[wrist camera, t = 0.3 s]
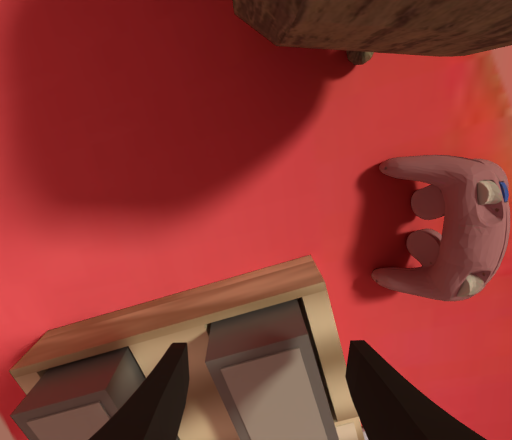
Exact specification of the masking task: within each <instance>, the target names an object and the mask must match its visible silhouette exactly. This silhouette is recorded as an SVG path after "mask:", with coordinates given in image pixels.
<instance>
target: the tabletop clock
mask: <svg viewBox="0 0 512 440" xmlns="http://www.w3.org/2000/svg"><path fill="white" fill-rule="evenodd" d="M233 8H234V13H235V15H237V16H238V17H239V18H241V19H242V20H243V21H245V22H246V23H247V24H248V25H250V26H251V27H252V28H254V29H255V30H256V31H258V32H259V33H260V34H262V35H263V36H264V37H266V38H267V39H268V40H270V41H271V42H272V43H273V44H275V45H276V46H287V47H302V48H317V49H333V50H346V52H347V58H348V60H349V61H350V62H352V63H353V64H354V65H362V64H364V63H366V62H367V61H368V60H370V59H371V57H372V55H373V53H374V52H378V53H394V54H409V55H424V56H465V55H470V54H474V53H479V52H483V51H487V50H492V49H496V48H500V47H505V46H509V45H512V0H233Z"/></svg>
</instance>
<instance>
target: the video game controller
mask: <svg viewBox="0 0 512 440" xmlns="http://www.w3.org/2000/svg"><path fill="white" fill-rule="evenodd" d="M379 170H380V171H381V172H382V173H384V174H385V175H388V176H391V177H394V178H398V179H406V180H414V181H421V182H425V183H429V184H431V185H429V186H427V187H425V188H422V189H419V190H417V191H416V192H415V193H414V194H413V195H412V198H411V206H412V210H413V212H414V213H415V214H416V215H417V216H418V217H420V218H422V219H425V220H431V219H436V218H439V217H442V216H444V224H443V231H442V235H441V234H440V233H438V232H437V231H434V230H432V229H421V230H417V231H415V232H412V233H411V234H410V235H409V236H408V238H407V249H408V251H409V253H410V254H411V255H412V256H413V257H414V258H416V259H417V260H418V261H419V262H420V263H421V264H422V267H418V268H396V267H389V268H379V269H375V270H374V271H373V272H372V275H371V276H372V278H373V280H374V281H375V282H376V283H378V284H379V285H381V286H383V287H385V288H388V289H390V290H394V291H398V292H403V293H407V294H412V295H417V296H421V297H426V298H431V299H436V300H442V301H459V300H464V299H468V298H471V297H472V296H474V295H475V294H477V293H479V292H480V291H481V290H482V289H483V288H484V287H485V285H486V284H487V283H488V282H489V281H490V280H491V278H492V277H493V276H494V274H495V273H496V271H497V270H498V268H499V266H500V264H501V262H502V259H503V257H504V254H505V251H506V248H507V244H508V238H509V232H510V208H509V202H508V196H509V194H508V179H507V176H506V174H505V172H504V171H503V170H502V168H501V167H499V166H498V165H497V164H495V163H493V162H491V161H488V160H484V159H468V158H463V157H456V156H447V155H423V156H409V157H397V158H392V159H388V160H386V161H384V162H383V163H381V164H380V166H379Z"/></svg>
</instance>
